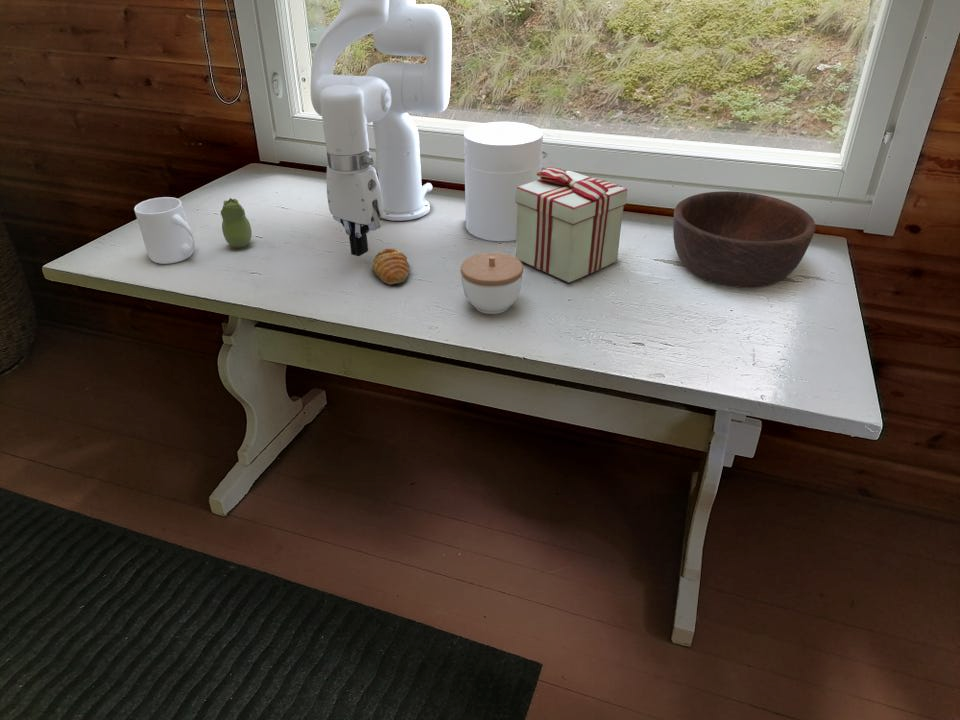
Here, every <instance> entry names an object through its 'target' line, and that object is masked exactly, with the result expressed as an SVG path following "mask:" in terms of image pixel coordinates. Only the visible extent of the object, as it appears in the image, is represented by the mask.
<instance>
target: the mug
mask: <svg viewBox="0 0 960 720" xmlns="http://www.w3.org/2000/svg"><path fill="white" fill-rule="evenodd" d="M133 210H134V214H135V218H136V220H137V223H138V227H139V230H140V233H141V236H142V238H143V243H144V247H145V250H146V252H147V255H148V257H149V259H150V260H151V261H152V262H153V263H156V264H161V265H170V264H175V263H180V262H183V261H185V260H187V259H189V258H190V257H191V256H192V255H193V253H194V251H195V249H196V240H195V236H194V232H193V231H192V228H191V227H190V225H189V223H188V222H187V217H186V214H185V210H184V207H183V202H182V201H181V200H180V199H179V198H177V197H171V196H162V197H154V198H149V199H146V200H143V201H141V202H139V203H137V204H135V206H134V208H133Z"/></svg>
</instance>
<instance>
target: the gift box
mask: <svg viewBox="0 0 960 720" xmlns="http://www.w3.org/2000/svg"><path fill="white" fill-rule="evenodd" d="M537 176H540V177H539V178H540V179H539V180H537V181H534V182H531V183H528V184H525V185H522V186H518V187H516V199H515V202H516V203H517V234H516V240H515V258H517V259H519V260H520V261H521V263H524V264H526V265H529V266H530V267H532V268H534V269H535V270H538V271H541V272H544V273H546V274H548V275H550V276H552V277H555V278H556V279H559V280H561V281H563V282H565V283H568V284H569V283H572V282H574V281H577V280H579V279H581V278H583V277H585V276H587V275H590V274H592V273H594V272H597V271H599V270H601V269H604V268H605V267H608V266H609V265H612V264H614V263H616V262H617V261H618V255H619V247H620V239H621V230H622V223H623V213H624V206H626V205H627V198H628V188H625V187H623V186H622V185H620V184H618V183H617V184H615V183H612V182H610V181H608V180H601V179H599V178H595V177H591V176H589V175H588V176H587V175H584V174H582V173H579V172H575V171H572V170H564V169H562V168H561V167H560V168H559V167H553V166H550V167H546V168H544V169H542V170H541V171H540V172H538V173H537Z"/></svg>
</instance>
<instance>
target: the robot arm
mask: <svg viewBox="0 0 960 720" xmlns="http://www.w3.org/2000/svg"><path fill="white" fill-rule="evenodd" d="M370 34H372V39H373V44H374V47H375V49H376V50H377V51H378V52H380V53H381V54H384V55H388V56H398V57H399V56H401V57H423V58H425V59H426V63H416V62H398V61H397V62H395V61H394V62H393V61H392V62H391V61H390V62H389V61H388V62H386V61H385V62H379V63H375V64H374V65H372V66H370V67H369V68H368V70H367V71H366V73H365V75H355V74H353V75H350V74H334V71H335V66H336V63H337V60H338V58H339V57H340V55H341V54H342V52H343V51H344V50H345V49H346V48H347V47H349V46H350V45H351V44H353V43H355V42H357V41H358V40H360V39H362V38H364V37H366V36H368V35H370ZM452 34H453V33H452V23H451V18H450V15H449V13H448V11H447V10H446V9H445V8H444V7H443V6H440V5H438V4H434V3H433V4H432V3H431V4H430V3H417V1H416V0H340V9H339V12H338V14H337V15H336V17H335V18H334V19H333V20H332V21H331V22H330V23H329V25H328V26H327V27H326V29H325V30H324V31H323V33H322V34H321V36H320V38H319V39H318V42H317V44H316V45H315V48H314V50H313V55H312V60H311V72H310V101H311V104H312V108H313V109H314V111H315V113H316V114H317V115H318V116H320V117H321V119H322V125H323V134H324V141H325V149H326V156H327V157H326V158H327V166H326V177H325V178H326V181H325V183H326V198H327V205H328V210H329V213H330V215H332V219H333V220H334V221H336V222H338V223H339V224H341V226H342V227H343V228H344V232H345V234H346V235H347V236H348V237H349V238H348V239H349V247H350V254H351V256H356V257H360V256H362V255H364V254H366V253H367V252H368V251H369V244H368V234H369V233H370V231H371V232H372V231H373V232H374V231H377V230H380V229H381V223H380V219H383V220H387V221H394V222H395V221H396V222H397V221H398V222H404V221H412V220H416V219H419V218H422V217H424V216H426V215H427V214H428V213H429V212H430V210H431V205H430V202H429V201H428V200H426V199H425V196H426V195H427V193H430V192H431V191H433V185H432V183H431V182H426V183H424V184H423V183H422V181H423V180H422V166H421V152H420V151H421V148H420V135H419V129H418V127H417V125H416V124H415V121H414V119H413V118H412V116H411V115H410V114H427V115H428V114H430V115H433V114H434V115H435V114H441V113H443V112H445V111H446V110H447V108H448V105H449V104H450V103H449V102H450V95H451V79H452V78H451V77H452V76H451V74H452V48H453V47H452V43H453V41H452V40H453V35H452ZM371 123H372V129H373V137H374V138H373V139H374V147H375V148H374V149H375V157H376V167H374V166H373V165H374V163H375V160H374V159H375V158H373V157H371V153H370V143H369V142H370V141H369V134H368V132H369V131H368V124H371ZM376 169H377V171H376ZM422 184H423V185H422Z"/></svg>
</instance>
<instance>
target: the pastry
mask: <svg viewBox="0 0 960 720" xmlns="http://www.w3.org/2000/svg"><path fill="white" fill-rule="evenodd" d="M407 259H408V258H407V256H406V255H405V254H404V253H403V252H400V251H399V250H398V249H396V248H392V247H391V248H385V249H383V250H381V251H378V252H377V254H376V255H375V256H374V258H373V261H372V270H373V272H374V274H375V275H376V276H377V277H378V278H379V280H381V281H382V282H383V283H384V284H388V285H394V284H400V283H404V282H405V281H406V280H407V278H408V275H409V272H410V264H409V262H408V260H407Z"/></svg>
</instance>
